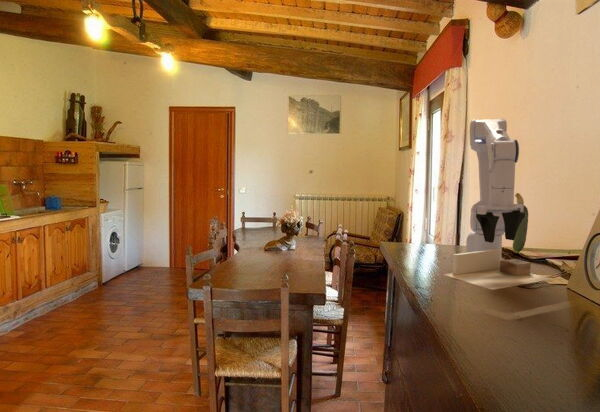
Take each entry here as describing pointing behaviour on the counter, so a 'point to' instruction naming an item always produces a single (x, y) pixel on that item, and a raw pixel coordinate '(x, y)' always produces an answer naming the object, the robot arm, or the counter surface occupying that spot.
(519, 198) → the vegetable
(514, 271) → the walnut block
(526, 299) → the counter surface
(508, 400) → the counter surface
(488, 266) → the beige rectangular slab
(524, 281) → the birch board
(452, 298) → the counter surface
